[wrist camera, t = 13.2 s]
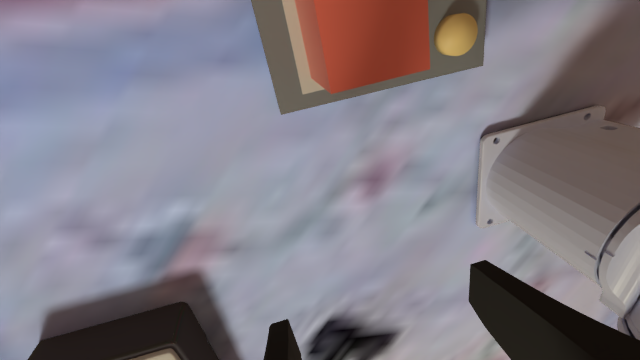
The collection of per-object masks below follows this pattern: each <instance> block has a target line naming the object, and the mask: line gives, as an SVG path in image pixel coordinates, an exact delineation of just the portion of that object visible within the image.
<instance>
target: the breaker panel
mask: <svg viewBox="0 0 640 360" xmlns="http://www.w3.org/2000/svg"><path fill="white" fill-rule="evenodd" d="M251 2H252V6H253V9H254V13H255V17H256V21H257V25H258V29H259V32H260V36H261V40H262V44H263V48H264V51H265V55H266V59H267V63H268V67H269V71H270V74H271V78H272V82H273V86H274V90H275V93H276V97H277V101H278V105H279V109H280V113H281V115H282V114H286V113H290V112H294V111H298V110H302V109H306V108H311V107H315V106H319V105H323V104H327V103H331V102H335V101H339V100H343V99H348V98H352V97H356V96H360V95H364V94H368V93H372V92H376V91H380V90H384V89H389V88H393V87H397V86H401V85H405V84H409V83H413V82H417V81H421V80H426V79H430V78H434V77H438V76H442V75H446V74H450V73H454V72H458V71H463V70H467V69H471V68H475V67H479V66H483V58H484V39H485V20H486V2H487V0H428V18H429V47H430V69H429V70H425V71H421V72H417V73H413V74H409V75H405V76H401V77H397V78H393V79H389V80H385V81H381V82H377V83H373V84H369V85H365V86H361V87H357V88H353V89H350V90H346V91H342V92H338V93H334V94H330V93H329V92H328V91H327V90H325V89H324V88H323V87H322V86H320V85H319V84H318V83H317V82H315V81H314V80H313V79H312V78H311V75H310V70H309V65H308V61H307V56H306V51H305V46H304V42H303V37H302V32H301V28H300V23H299V18H298V13H297V9H296V4H295V0H251Z"/></svg>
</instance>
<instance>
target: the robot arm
mask: <svg viewBox="0 0 640 360" xmlns="http://www.w3.org/2000/svg"><path fill="white" fill-rule="evenodd" d="M605 113H606V108H605V107H604V106H600V105H597V106H593V107H589V108H585V109H581V110H578V111H574V112H570V113H566V114H562V115H559V116H555V117H551V118H547V119H543V120H539V121H536V122H532V123H528V124H524V125H520V126H516V127H513V128H509V129H505V130H501V131H497V132H494V133H490V134H486V135H484V136H483V137H482V139H481V141H480V153H479V172H478V190H477V208H476V225H477V226H478V227H479V228H486V227H489V226H493V225H496V224H500V223H503V222H507V221H511V222H512V223H514V224H515V225H517V226H518V227H519V228H521V229H522V230H523V231H525V232H526V233H527V234H529V235H530V236H532V237H533V238H534V239H536V240H537V241H538V242H540V243H541V244H543V245H544V246H545V247H547V248H548V249H549V250H551V251H552V252H553V253H555V254H556V255H558V256H559V257H560V258H562V259H563V260H564V261H566V262H567V263H568V264H570V265H571V266H573V267H574V268H575V269H577V270H578V271H579V272H581V273H582V274H583V275H585V276H586V277H588V278H589V279H590V280H592V281H593V282H594V283H596V284H597V285H598V286H600V287H601V288H602V294H601V297H600V299H599V301H600V302H601V303H603V304H604V305H605V306H607V307H608V308H609V309H610V310H612V311H613V312H614V313H616V314H617V315H618V316H619V318H618V322H617V328H618V330H615V329H613V328H611V327H609V326H606V325H604V324H602V323H600V322H598V321H596V320H594V319H592V318H590V317H588V316H586V315H584V314H582V313H580V312H578V311H576V310H574V309H572V308H570V307H568V306H566V305H564V304H562V303H560V302H558V301H557V300H555V299H553V298H551V297H549V296H547V295H545V294H544V293H542V292H540V291H538V290H536V289H535V288H533V287H531V286H529V285H528V284H526V283H524V282H522V281H521V280H519V279H517V278H515V277H514V276H512V275H510V274H509V273H507V272H505V271H503V270H502V269H500V268H498V267H497V266H495V265H493V264H491V263H490V262H488V261H486V260H484V261H480V262H477V263H474V264H471V267H470V287H469V302H470V304H471V305H472V307H473V309H474V310H475V312H476V314H477V315H478V317H479V318H480V320H481V321H482V323H483V324H484V326H485V327H486V329H487V330H488V331H489V332H490V334H491V335H492V336H493V337H494V339H495V340H496V341H497V343H498V344H499V345H500V346H501V348H502V349H503V350H504V351H505V353H506V354H507V355H508V356H509V357H510V359H511V360H640V128H636V127H632V126H628V125H624V124H620V123H615V122H611V121H607V120H604V117H605ZM495 138H496V140H495V141H494V142H493V140H494V139H495ZM488 220H489V221H488ZM264 360H302V358H301V353H300V350H299V347H298V345H297V342H296V339H295V337H294V334H293V331H292V329H291V326H290V323H289V321H288V319H286V320H283V321H280V322H276V323H273V324H271V326H270V327H269V334H268V340H267V346H266V351H265V356H264Z"/></svg>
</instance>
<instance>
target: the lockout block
mask: <svg viewBox="0 0 640 360" xmlns="http://www.w3.org/2000/svg"><path fill="white" fill-rule="evenodd" d="M295 4H296V9H297V13H298V18H299V23H300V28H301V32H302V37H303V42H304V46H305V51H306V56H307V61H308V65H309V70H310V75H311V78H312V79H313V80H314V81H315V82H317V83H318V84H319V85H320V86H322V87H323V88H324V89H325V90H327V91H328V92H329V93H330V94H334V93H338V92H342V91H346V90H350V89H353V88H357V87H361V86H365V85H369V84H373V83H377V82H381V81H385V80H389V79H393V78H397V77H401V76H405V75H409V74H413V73H417V72H421V71H425V70H429V69H430V47H429V18H428V0H295Z"/></svg>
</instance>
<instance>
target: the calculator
mask: <svg viewBox="0 0 640 360" xmlns="http://www.w3.org/2000/svg"><path fill="white" fill-rule="evenodd" d="M28 360H219V359H218V358H217V356H216V355H215V353H214V352H213V350H212V348H211V347H210V345H209V344H208V342H207V339H206V335H205V333H204V331H203V330H202V328H201V326H200V324H199V323H198V321H197V319H196V318H195V316H194V314H193V312H192V311H191V309H190V307H189V305H188V304H187V303H185V302H179V303H175V304H171V305H168V306H164V307H161V308H157V309H153V310H150V311H146V312H143V313H139V314H135V315H132V316H128V317H125V318H121V319H117V320H114V321H110V322H107V323H103V324H99V325H96V326H92V327H89V328H85V329H81V330H78V331H74V332H71V333H67V334H63V335H60V336H56V337H53V338H49V339H46V340H42V341H40V342H39V344H38V345H37V347H36V348H35V350H34V351H33V353H32V354H31V356H30V357H29V358H28Z"/></svg>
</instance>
